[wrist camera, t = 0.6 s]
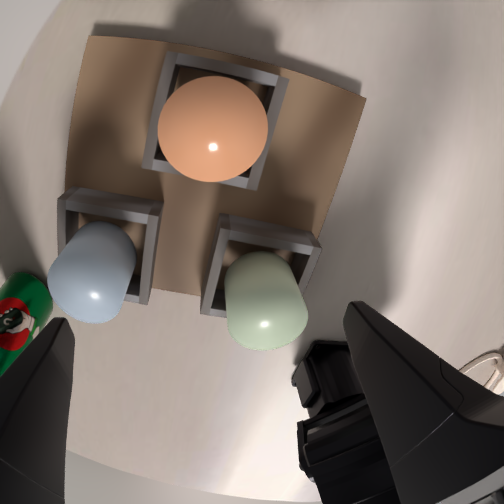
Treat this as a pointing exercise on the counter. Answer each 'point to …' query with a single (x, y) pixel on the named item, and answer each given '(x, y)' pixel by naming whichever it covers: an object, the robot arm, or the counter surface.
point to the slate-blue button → (93, 272)
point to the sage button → (263, 302)
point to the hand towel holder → (500, 367)
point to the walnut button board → (194, 191)
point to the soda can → (21, 314)
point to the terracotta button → (212, 129)
